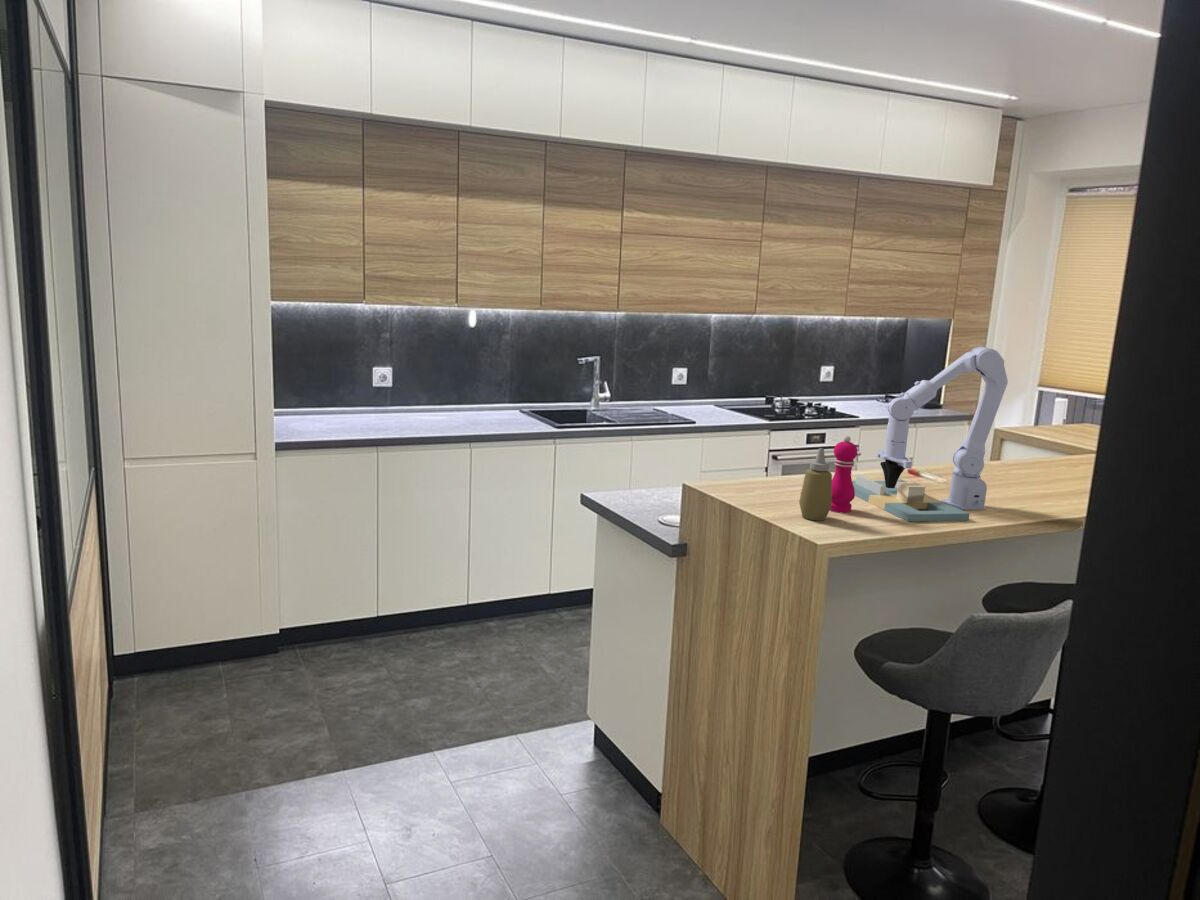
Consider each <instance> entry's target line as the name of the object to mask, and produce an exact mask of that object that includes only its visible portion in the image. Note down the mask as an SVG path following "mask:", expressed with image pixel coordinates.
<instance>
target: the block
mask: <svg viewBox="0 0 1200 900" xmlns="http://www.w3.org/2000/svg"><path fill="white" fill-rule="evenodd" d="M924 494H926V485H925V486H924V485H923V484H920V483H917V482H915V481H914V482H913V481H906V482H899V483H898V491H897V499H899V500H901V501H903V502H906V503H923V501H924Z"/></svg>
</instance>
